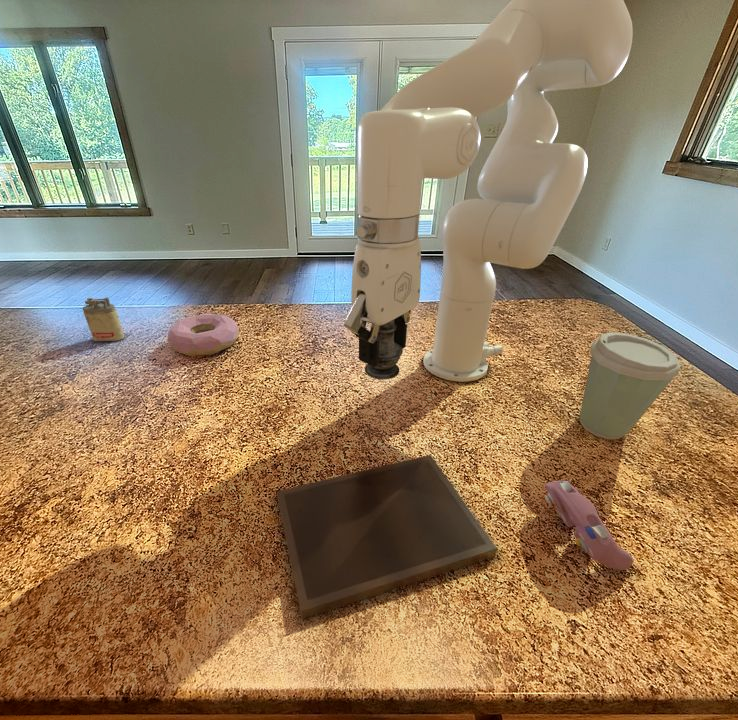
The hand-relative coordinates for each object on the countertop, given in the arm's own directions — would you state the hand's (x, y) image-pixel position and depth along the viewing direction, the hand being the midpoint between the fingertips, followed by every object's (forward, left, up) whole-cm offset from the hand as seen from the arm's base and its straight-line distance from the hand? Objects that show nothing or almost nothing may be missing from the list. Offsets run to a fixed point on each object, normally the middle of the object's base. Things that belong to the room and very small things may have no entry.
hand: (382, 353), depth 56 cm
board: (+8, +18, -13) cm, 24 cm away
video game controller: (-14, +26, -13) cm, 33 cm away
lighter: (+50, -48, -13) cm, 70 cm away
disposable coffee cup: (-33, +12, -13) cm, 38 cm away
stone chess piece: (0, 0, -3) cm, 3 cm away
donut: (+28, -38, -13) cm, 48 cm away
